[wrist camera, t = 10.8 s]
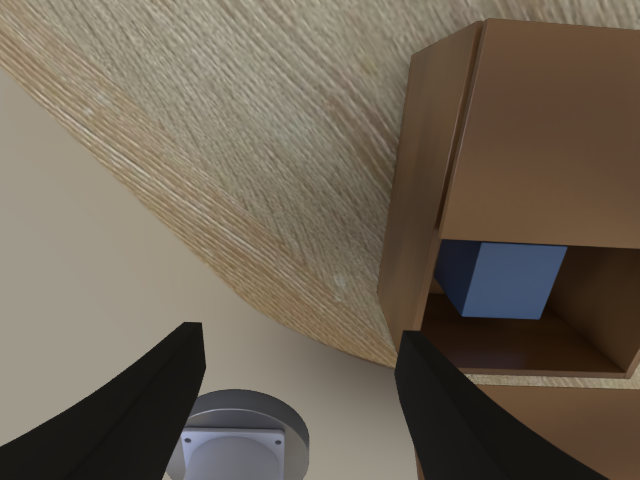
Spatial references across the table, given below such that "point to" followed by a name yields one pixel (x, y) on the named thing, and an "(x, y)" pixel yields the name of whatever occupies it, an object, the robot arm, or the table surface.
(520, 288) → the block
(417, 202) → the carton
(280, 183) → the table surface
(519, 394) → the flap
